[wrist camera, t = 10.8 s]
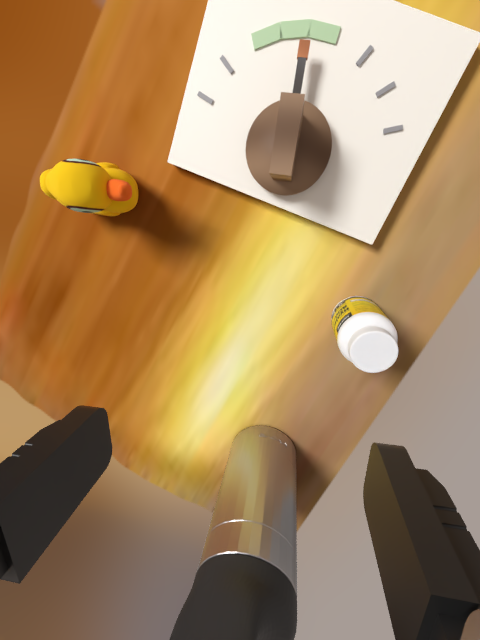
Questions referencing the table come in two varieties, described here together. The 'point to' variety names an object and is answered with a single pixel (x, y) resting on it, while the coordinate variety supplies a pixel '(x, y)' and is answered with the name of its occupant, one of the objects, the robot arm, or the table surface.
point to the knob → (289, 139)
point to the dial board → (322, 97)
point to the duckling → (90, 187)
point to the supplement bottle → (365, 334)
